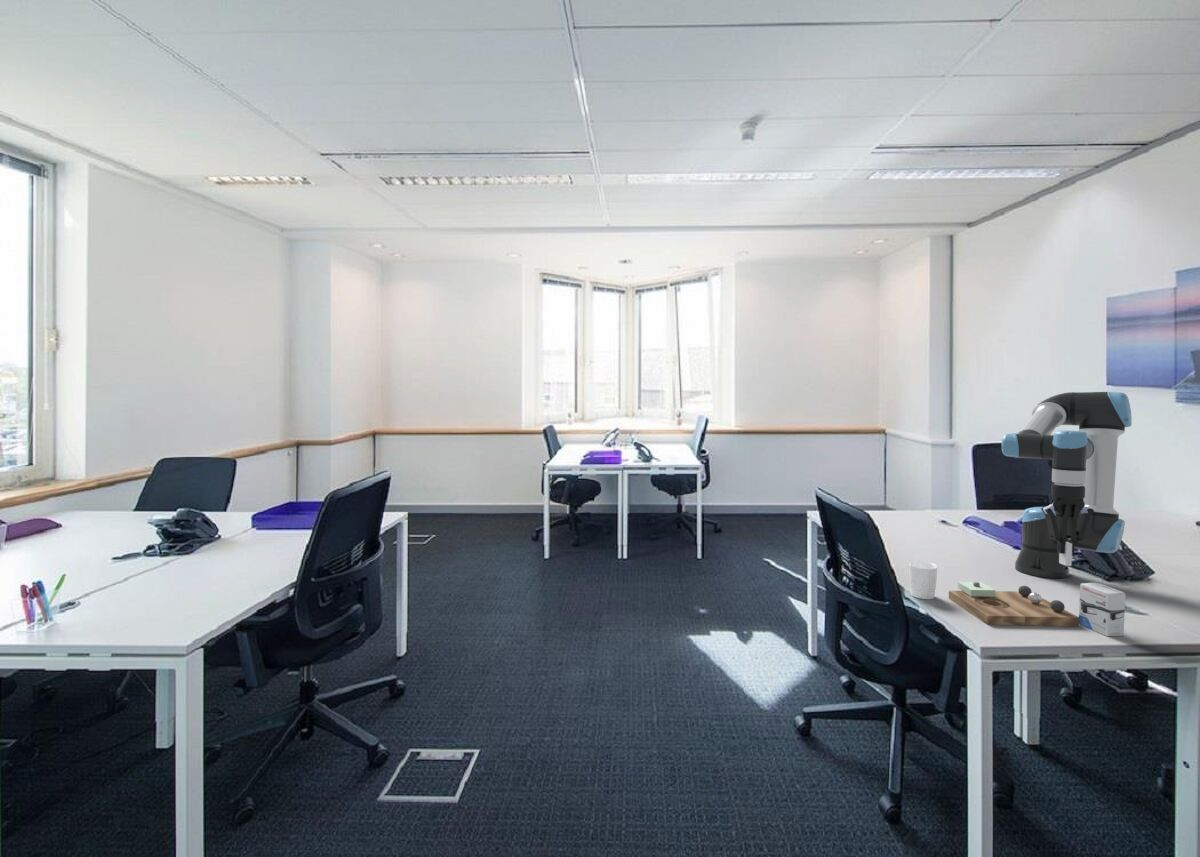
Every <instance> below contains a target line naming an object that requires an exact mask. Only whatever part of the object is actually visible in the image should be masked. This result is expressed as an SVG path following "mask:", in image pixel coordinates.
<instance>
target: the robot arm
mask: <svg viewBox="0 0 1200 857" xmlns="http://www.w3.org/2000/svg"><path fill="white" fill-rule="evenodd" d="M1132 420H1133V419H1132V410H1131V403H1130V399H1129V397H1128V395H1127V394H1126V393H1125V392H1119V391H1089V392H1088V391H1086V392H1084V391H1083V392H1082V391H1081V392H1078V391H1073V392H1071V391H1070V392H1063V393H1059V394H1055V395H1052V396H1050V397H1048V398H1046V399H1044V400H1042V401H1040V402H1039V403H1037V405H1036V406H1034V408H1033V409H1032V412H1031V417H1030V418H1029V419H1028V421H1027V422H1026V423H1025V424H1024V425H1023V426H1022V428H1020V430H1019V431H1018V432H1017V433H1014V432H1013V433H1005V434H1004V435H1003V437H1002V438H1001V452H1002V454H1003V455H1004V456H1005V457H1010V458H1011V457H1012V458H1016V459H1017V458H1021V459H1022V458H1023V459H1036V460H1037V459H1038V460H1040V459H1041V460H1051V461H1052V463H1051V464H1052V467H1051V482H1052V484H1051V487H1050V489H1051V490H1050V492H1051V493H1050V495H1051V500H1050V502H1049V505H1047V506H1033V507H1029V508H1025V509H1024V510H1023V513H1022V520H1021V522H1022V524H1021V525H1022V526H1021V528H1022V529H1021V549H1020V550H1019V554H1018V555H1017V558H1016V560H1015V561H1014V569H1015V570H1017V571H1018V572H1020V573H1023V574H1026V575H1029V576H1035V577H1040V578H1049V579H1064V578H1065V579H1066V578H1068V577H1069V576H1070V568H1069V567H1071V566H1072V562H1073V561H1072V560H1073V559H1072V558H1073V554H1075V549H1079V550H1085V551H1091V552H1096V553H1106V554H1107V553H1108V554H1113V553H1116V552H1117V551H1118V549H1119V548H1120V546H1121V543H1122V539H1123V535H1124V532H1125V522H1126V521H1125V520H1123V519H1122V518H1119V516H1120V514H1119V512H1118V511H1117V510H1116V509H1115V508H1114V500H1115V486H1116V474H1117V472H1116V471H1117V458H1118V457H1117V455H1118V444H1119V443H1118V441H1119V437H1120V436H1121V435H1123V434H1124V433H1125V431H1126V430H1125V429H1126V428H1130V427H1132V423H1133V422H1132ZM1060 426H1078V430H1057V431H1054V430H1056V429H1057V428H1058V427H1060ZM1053 432H1054V433H1053Z"/></svg>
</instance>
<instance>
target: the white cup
mask: <svg viewBox="0 0 1200 857" xmlns="http://www.w3.org/2000/svg"><path fill="white" fill-rule="evenodd" d="M937 578H938V566H937V564H934V563H931V562H925V561H910V562H908V579H909V591H910V592H909V593H910V595H911V596H912V597H913V598H916V599H920V600H921V599H922V600H934V599H935V597H936V589H937V588H936V587H937Z"/></svg>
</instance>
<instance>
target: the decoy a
mask: <svg viewBox="0 0 1200 857" xmlns="http://www.w3.org/2000/svg"><path fill="white" fill-rule="evenodd" d="M1017 592H1019V593H1020V594H1021V595H1022V596H1026V597H1027V596H1029V594H1030V593H1033V592H1032V589H1031V588H1030V587H1029V586H1027V585H1021V586H1019V587H1018V590H1017Z"/></svg>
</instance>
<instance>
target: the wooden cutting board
mask: <svg viewBox="0 0 1200 857" xmlns="http://www.w3.org/2000/svg"><path fill="white" fill-rule="evenodd" d="M948 599H949V600H951V601H952V602H953V603H955V604H957V605H958V606H959V607H961V608H962V609H964V610H965V611H967V612H968V613H969V614H972V616H974V617H975V618H977V619H978V620H980V621H981V622H983V623H984V624H986V625H995V626H997V625H999V626H1002V625H1003V626H1041V627H1042V626H1043V627H1045V626H1046V627H1048V626H1050V627H1054V626H1055V627H1080V624H1079V615H1078V616H1077V615H1075V614H1074V613H1072V612H1069V611H1068V610H1066V609H1064V610H1063V611H1062V612H1056V611H1054V610H1052V609H1051V607H1050V603H1051V602H1052V601H1048V600H1047V599H1044V598H1043V597H1042V601H1041V603H1039V604H1034V603H1032V602H1030V601H1029V599H1028V596H1027V597H1026V596H1022V595H1021V594H1020V593H1019V591H1009V590H1007V591H1004V590H995V597H983V596H970V595H968V594H966V593H965V592H963V591H962V590H948Z"/></svg>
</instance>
